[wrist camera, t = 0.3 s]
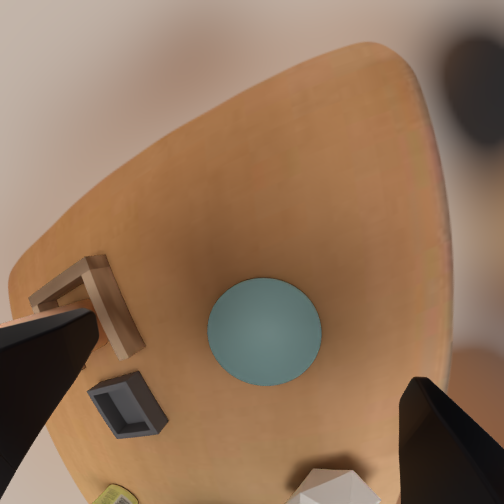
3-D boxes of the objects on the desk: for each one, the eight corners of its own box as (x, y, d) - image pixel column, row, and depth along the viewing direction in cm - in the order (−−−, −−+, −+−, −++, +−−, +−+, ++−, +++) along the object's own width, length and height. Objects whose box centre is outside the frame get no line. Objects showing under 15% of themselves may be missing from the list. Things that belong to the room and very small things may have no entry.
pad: (254, 399, 23) (253, 402, 22) (188, 320, 24) (185, 321, 23) (342, 343, 22) (343, 345, 21) (274, 253, 22) (273, 254, 22)
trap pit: (168, 420, 25) (158, 434, 22) (127, 427, 26) (116, 439, 23) (138, 370, 25) (125, 381, 22) (100, 382, 26) (86, 391, 23)
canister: (93, 354, 26) (10, 399, 14) (68, 315, 26) (-19, 344, 14) (119, 332, 25) (27, 378, 13) (91, 289, 25) (-6, 314, 13)
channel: (145, 346, 24) (129, 357, 21) (80, 369, 26) (63, 379, 23) (105, 254, 25) (85, 256, 22) (47, 293, 26) (28, 297, 23)
